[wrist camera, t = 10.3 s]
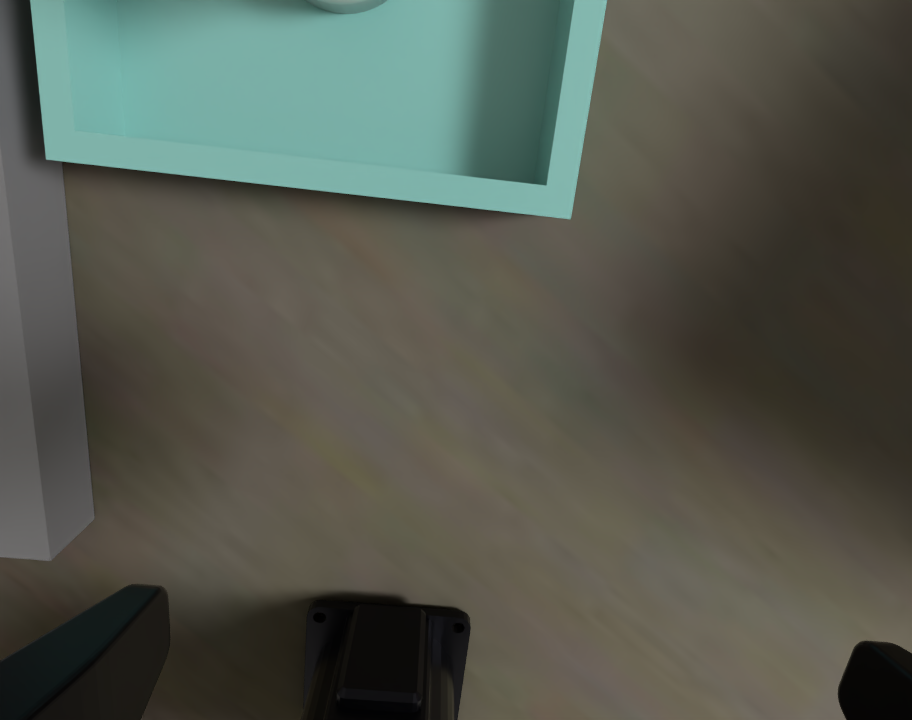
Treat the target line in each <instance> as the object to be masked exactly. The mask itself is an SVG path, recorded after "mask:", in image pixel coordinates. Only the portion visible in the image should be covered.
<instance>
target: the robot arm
mask: <svg viewBox="0 0 912 720" xmlns="http://www.w3.org/2000/svg"><path fill="white" fill-rule="evenodd" d="M318 612H321V613H324V614H325V615H322V616H321V615H318V614H317V613H318ZM455 623H461V624H462V625H460V626H456V625H454V624H455ZM469 636H470V617H469V616H468V614H466V613H465V612H463V611H458V610H445V609H432V608H419V607H406V606H393V605H380V604H367V603H354V602H341V601H328V600H317V601H315V602H313V603H312V604H311V605H310V608H309V611H308V615H307V627H306V653H305V679H304V704H303V713H302V717H301V720H457V719H458V712H459V705H460V698H461V691H462V684H463V677H464V670H465V664H466V657H467V650H468V643H469ZM169 646H170V624H169V603H168V594H167V591H166V589H165V588H164V587H162V586H157V585H144V584H131V585H128V586H126V587H124V588H123V589H121V590H119V591H117V592H116V593H114V594H112V595H111V596H109V597H107V598H106V599H104V600H102V601H100V602H99V603H97V604H95V605H94V606H92V607H90V608H89V609H87V610H85V611H84V612H82V613H80V614H78V615H77V616H75V617H73V618H72V619H70V620H68V621H67V622H65V623H63V624H62V625H60V626H58V627H56V628H55V629H53V630H51V631H50V632H48V633H46V634H45V635H43V636H41V637H40V638H38V639H36V640H34V641H33V642H31V643H29V644H28V645H26V646H24V647H23V648H21V649H19V650H18V651H16V652H14V653H12V654H11V655H9V656H7V657H6V658H4V659H2V660H1V661H0V720H141V718H142V715H143V713H144V710H145V708H146V706H147V703H148V701H149V698H150V696H151V694H152V691H153V689H154V687H155V684H156V682H157V679H158V677H159V675H160V672H161V670H162V668H163V665H164V663H165V660H166V657H167V654H168V650H169ZM838 699H839V703H840V707H841V709H842V712H843V714H844V716H845V718H846V720H912V653H910V652H908V651H907V650H905V649H903V648H902V647H900V646H898V645H896V644H893V643H888V642H877V641H862V642H859V643H858V644H857V645H856V646H855V647H854V649H853V651H852V654H851V656H850V659H849V661H848V664H847V666H846V669H845V671H844V674H843V676H842V679H841V681H840V684H839V687H838Z"/></svg>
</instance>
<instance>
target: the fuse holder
mask: <svg viewBox="0 0 912 720" xmlns="http://www.w3.org/2000/svg"><path fill="white" fill-rule="evenodd" d="M94 519H95V517H94V506H93V495H92V484H91V473H90V462H89V451H88V440H87V429H86V419H85V408H84V397H83V386H82V375H81V364H80V353H79V342H78V331H77V320H76V309H75V298H74V288H73V277H72V266H71V255H70V244H69V233H68V222H67V211H66V200H65V189H64V178H63V168H62V161H55V160H46V154H45V144H44V134H43V124H42V114H41V104H40V94H39V83H38V73H37V63H36V53H35V43H34V33H33V23H32V13H31V3H30V0H0V557H7V558H20V559H33V560H45V561H51V560H52V559H53V558H54V557H55V556H56V555H57V554H58V553H59V552H61V551H62V550H63V549H64V548H65V547H66V546H67V545H68V544H69V543H70V542H71V541H72V540H73V539H74V538H75V537H76V536H77V535H78V534H79V533H80V532H81V531H83V530H84V529H85V528H86V527H87V526H88V525H89V524H90V523H91V522H92V521H93V520H94Z"/></svg>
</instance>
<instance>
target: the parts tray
mask: <svg viewBox="0 0 912 720" xmlns="http://www.w3.org/2000/svg"><path fill="white" fill-rule="evenodd" d="M30 3H31V13H32V23H33V33H34V43H35V53H36V63H37V73H38V83H39V94H40V104H41V114H42V124H43V134H44V144H45V154H46V160H55V161H63V162H72V163H81V164H90V165H99V166H107V167H116V168H125V169H134V170H142V171H151V172H160V173H169V174H178V175H186V176H195V177H204V178H213V179H222V180H230V181H239V182H248V183H257V184H266V185H274V186H283V187H292V188H301V189H310V190H318V191H327V192H336V193H345V194H354V195H362V196H371V197H380V198H389V199H397V200H406V201H415V202H424V203H433V204H441V205H450V206H459V207H468V208H477V209H485V210H494V211H503V212H512V213H521V214H529V215H538V216H547V217H556V218H565V219H571V214H572V208H573V202H574V196H575V190H576V184H577V178H578V172H579V166H580V160H581V154H582V148H583V142H584V136H585V130H586V124H587V118H588V112H589V106H590V100H591V94H592V88H593V82H594V76H595V70H596V64H597V58H598V52H599V46H600V39H601V33H602V27H603V21H604V15H605V9H606V3H607V0H388V1H386V2H385V3H383V4H381V5H380V6H378V7H376V8H374V9H371V10H368V11H365V12H361V13H356V14H339V13H333V12H329V11H325V10H322V9H320V8H317V7H315V6H313V5H312V4H310V3H308V2H306V1H305V0H30Z"/></svg>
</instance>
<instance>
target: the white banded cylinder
mask: <svg viewBox="0 0 912 720" xmlns="http://www.w3.org/2000/svg"><path fill="white" fill-rule="evenodd" d="M305 1H306V2H308V3H310V4H312V5H313V6H315V7H317V8H320V9H322V10H325V11H329V12H333V13H339V14H356V13H361V12H365V11H368V10H371V9H374V8H376V7H378V6H380V5H381V4H383V3H385V2H386V1H388V0H305Z"/></svg>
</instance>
